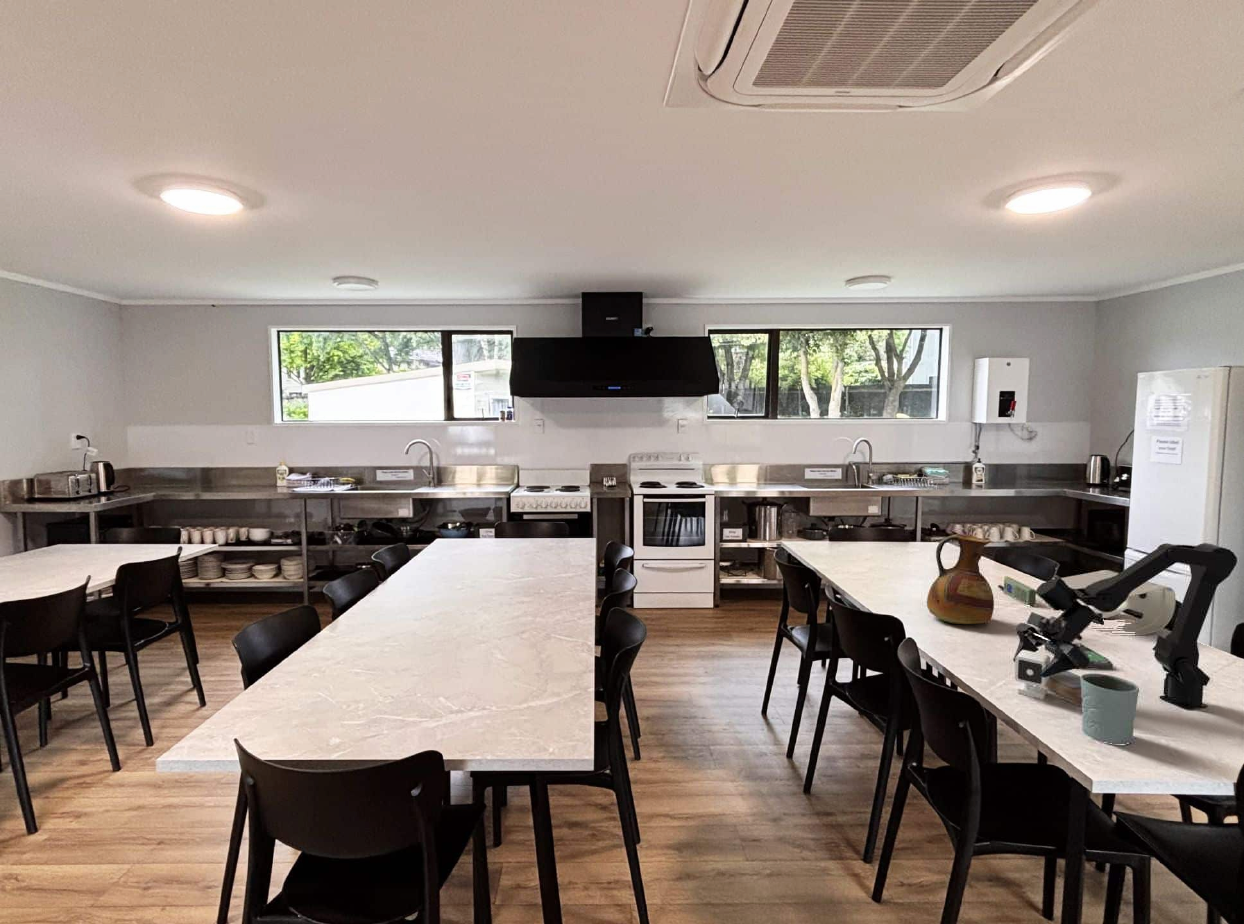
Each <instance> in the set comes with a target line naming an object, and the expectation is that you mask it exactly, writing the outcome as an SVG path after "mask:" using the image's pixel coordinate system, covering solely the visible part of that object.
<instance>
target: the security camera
mask: <svg viewBox="0 0 1244 924" xmlns="http://www.w3.org/2000/svg"><path fill="white" fill-rule="evenodd" d="M1050 661H1051V657H1050V655H1049V654H1045V653H1041V652H1040V653H1039V652H1037V651H1036V652H1031V651H1026V650H1022V651H1021V652H1020V653H1019V654H1018V656H1017V657H1016V659H1015V662H1014V663H1015V664H1014V679H1015V681H1016V682H1019V683H1020V684H1019V686H1018V687H1017V694H1020V693H1021V694H1020V695H1023V696H1026V695H1028V697H1030V696H1031V698H1034V697H1036V698H1035V699H1038V698H1040V699H1039V700H1044V699H1045V698H1046V696H1047V694H1048V691H1047V688H1045V687H1043V686H1044V685H1045V684H1046V682H1047V681H1048V679H1049V676H1048V677H1045V678H1044V677H1042V676H1041V675H1040V674H1041V672H1042V671H1043V669H1044V668H1045V667H1046V666H1047V665H1048V663H1049V662H1050ZM1046 693H1047V694H1046ZM1045 695H1046V696H1045Z"/></svg>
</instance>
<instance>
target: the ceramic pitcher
mask: <svg viewBox="0 0 1244 924" xmlns="http://www.w3.org/2000/svg"><path fill="white" fill-rule="evenodd" d="M950 541H955V542H957V543H958V545H959V556H958V560H957V562H956V563H955V565H953V566H952V567H950V568H945V567H944V564H943V562H942V558H941V555H942V554H941V553H942V551H943V547H944V546H945V544H947V543H948V542H950ZM990 542H991V540H989V539H985V538H984V539H983V538H980V537H976V536H972V535H969V534H963V533H962V534H961V533H954V534H952V535H949V536H947V537H945V538H943V539H942V540H940V541H939V542H938V545H937V547H936V551H935V558H936V564H937V569H938V572H939V573H938V574H939V575H938V576H937V578H936V579H935V580H934V582H933V583H932V584H931V586H930V588H929V591H928V594H927V599H926V607H927V610H928V611H929V613H930V614H932V615H933V616H935V617H936V618H938V619H940V620H942V621H943V622H944V621H945V622H947V623H950V624H955V625H956V624H957V625H972V624H973V623H974V624H985V623H988V622H990V621H991V620H992V617H993V615H994V609H995V599H994V594H993V593H994V592H993V589H992V587H991V585H990V583H989V582H988V580H987V578H986V577H985V576H984V575H983V574H982V573H981V572H980V566H979V562H980V560H981V558H982V550H983V548H984V547H985V546H987V545H988V544H990Z"/></svg>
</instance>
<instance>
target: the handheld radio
mask: <svg viewBox="0 0 1244 924" xmlns="http://www.w3.org/2000/svg"><path fill="white" fill-rule="evenodd" d="M1003 579H1004V581H1003V585H1002V584H998V586H997V587H998V588H999V589H1001V590H1002V593H1003V592H1004V593H1003V594H1005V593H1006V594H1005V595H1007V594H1008V595H1010V596H1011V598H1012V597H1013V598H1012V599H1014V598H1016V599H1017V600H1019V601H1020V603H1021V602H1023V603H1024V604H1023V603H1022V604H1023V605H1025V604H1026V605H1030V606H1034V605H1035V606H1036V598H1037V597H1036V596H1037V594H1036V590H1037V589H1034V588H1032V587H1030V586H1028V585H1026V584H1024V583H1022V582H1020V581H1018V580H1017V579H1014V578H1012V577H1009V576H1008V575H1007V576H1006V575H1005V576H1004V578H1003ZM1008 595H1007V596H1008ZM1010 596H1009V597H1010ZM1016 599H1015V600H1016ZM1017 600H1016V601H1017ZM1019 601H1018V602H1019ZM1026 605H1025V606H1026ZM1035 606H1034V607H1035Z"/></svg>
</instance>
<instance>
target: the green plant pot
mask: <svg viewBox="0 0 1244 924" xmlns="http://www.w3.org/2000/svg"><path fill="white" fill-rule="evenodd" d="M1080 679H1081V691H1082V695H1081V697H1082V706H1081V713H1082V715H1081V724H1082V725H1081V727H1082V732H1083V731H1084V732H1083V733H1084V734H1085V735H1086V734H1087V735H1088V737H1089V736H1090V737H1092V738H1094V739H1096V740H1095V741H1097V740H1099V741H1098V742H1100V741H1102V742H1101V743H1103V742H1107V743H1112V744H1127V743H1131V744H1132V743H1133V735H1134V730H1135V729H1134V723H1135V716H1136V715H1135V713H1136V710H1137V703H1138V699H1139V691H1140V687H1139V685H1137V684H1135V683H1134V682H1133V681H1129V680H1127V679H1125V678H1121V677H1119V676H1113V675H1109V674H1103V673H1084V674H1082V675H1080ZM1087 735H1086V736H1087ZM1090 737H1089V738H1090ZM1092 738H1091V739H1092ZM1094 739H1093V740H1094Z"/></svg>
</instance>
